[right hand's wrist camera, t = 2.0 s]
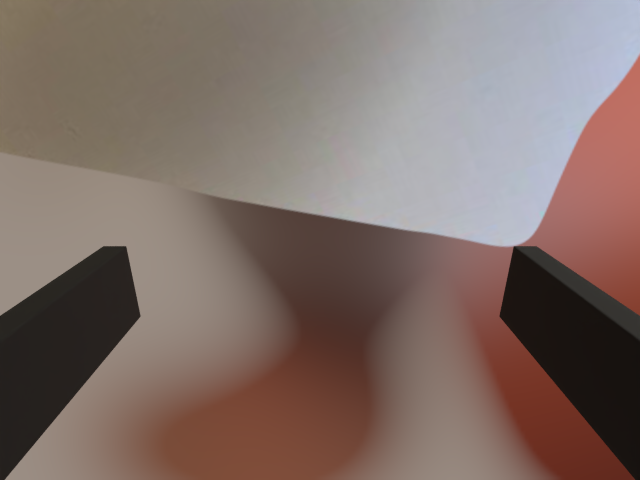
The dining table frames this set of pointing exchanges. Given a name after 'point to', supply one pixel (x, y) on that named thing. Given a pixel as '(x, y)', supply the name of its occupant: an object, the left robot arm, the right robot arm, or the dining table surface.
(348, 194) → the dining table surface
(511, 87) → the dining table surface
